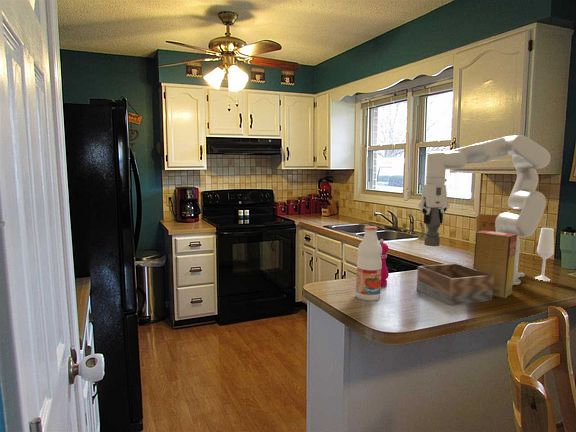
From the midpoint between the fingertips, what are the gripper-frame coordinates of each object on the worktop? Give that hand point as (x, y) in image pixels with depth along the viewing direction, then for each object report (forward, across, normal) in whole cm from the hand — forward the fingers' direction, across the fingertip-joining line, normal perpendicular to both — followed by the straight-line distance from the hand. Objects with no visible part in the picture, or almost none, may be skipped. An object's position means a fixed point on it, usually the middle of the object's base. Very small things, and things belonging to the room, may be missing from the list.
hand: (433, 223), depth 172 cm
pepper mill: (+27, +22, -6) cm, 35 cm away
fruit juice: (+27, +35, +9) cm, 45 cm away
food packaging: (+28, -18, +16) cm, 37 cm away
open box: (+27, 0, +15) cm, 31 cm away
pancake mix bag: (+28, -51, -16) cm, 61 cm away
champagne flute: (+28, -58, +6) cm, 65 cm away
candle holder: (+10, 0, 0) cm, 10 cm away
